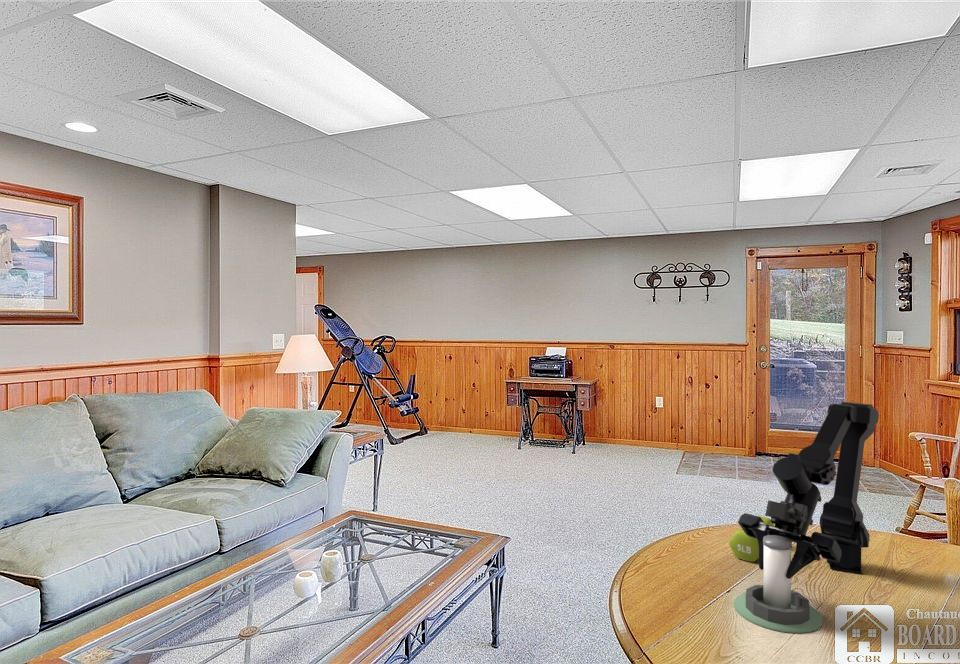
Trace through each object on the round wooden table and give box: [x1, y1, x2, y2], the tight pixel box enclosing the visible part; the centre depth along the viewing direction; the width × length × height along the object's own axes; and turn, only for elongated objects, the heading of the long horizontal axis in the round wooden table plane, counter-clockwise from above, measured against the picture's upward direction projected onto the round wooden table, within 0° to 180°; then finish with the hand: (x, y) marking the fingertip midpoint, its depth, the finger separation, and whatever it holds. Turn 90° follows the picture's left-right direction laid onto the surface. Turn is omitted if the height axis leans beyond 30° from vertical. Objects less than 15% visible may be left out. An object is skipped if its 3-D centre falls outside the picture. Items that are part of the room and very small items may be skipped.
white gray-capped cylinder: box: [762, 535, 793, 609], centre depth 119 cm, size 5×5×13 cm
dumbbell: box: [728, 515, 775, 563], centre depth 149 cm, size 16×8×7 cm, turn 139°
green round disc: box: [733, 584, 823, 634], centre depth 119 cm, size 16×16×3 cm
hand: (773, 573), depth 118 cm, fingers closed on white gray-capped cylinder, 5 cm apart
